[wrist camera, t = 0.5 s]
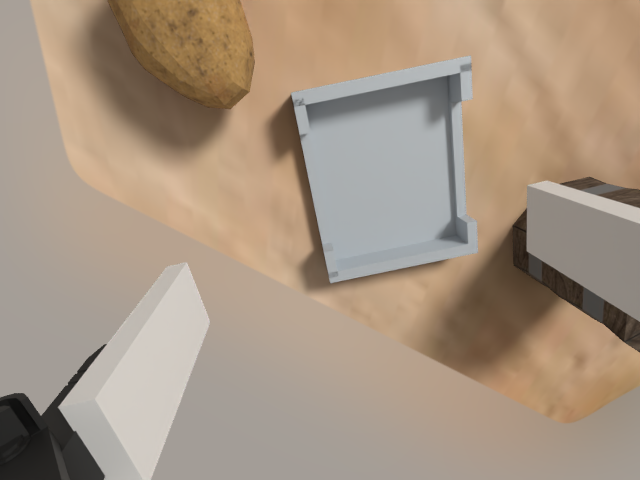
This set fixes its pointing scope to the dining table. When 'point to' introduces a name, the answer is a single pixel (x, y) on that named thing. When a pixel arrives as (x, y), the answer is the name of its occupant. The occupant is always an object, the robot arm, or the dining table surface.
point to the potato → (191, 46)
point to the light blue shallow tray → (388, 168)
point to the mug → (568, 289)
